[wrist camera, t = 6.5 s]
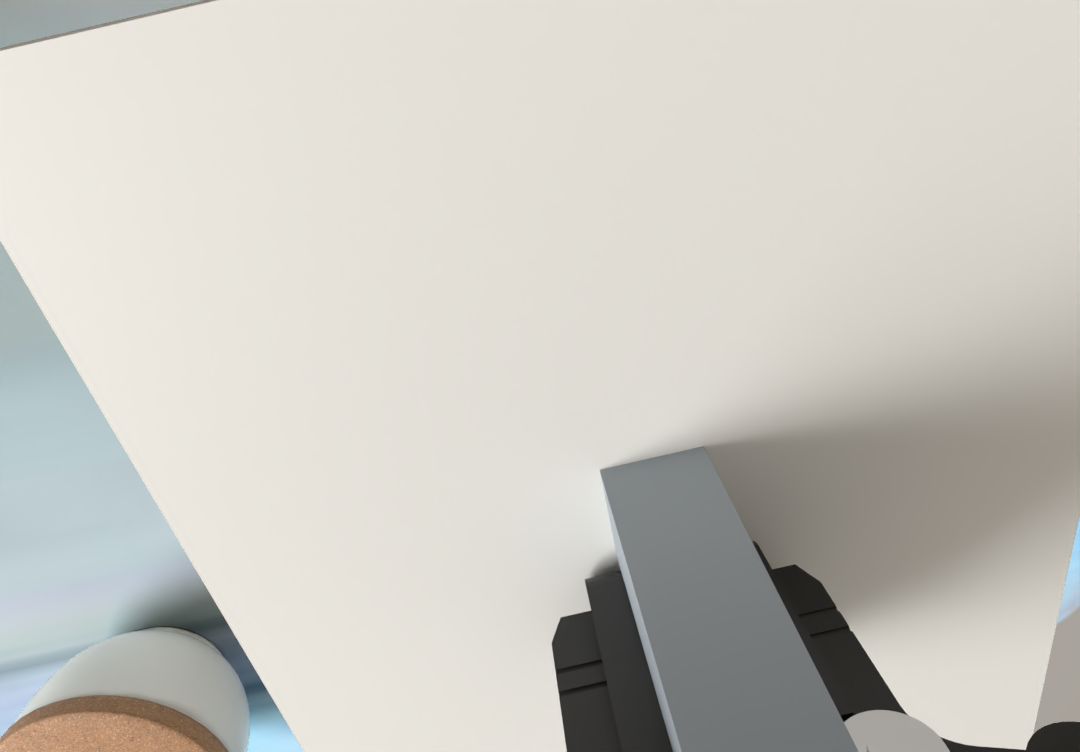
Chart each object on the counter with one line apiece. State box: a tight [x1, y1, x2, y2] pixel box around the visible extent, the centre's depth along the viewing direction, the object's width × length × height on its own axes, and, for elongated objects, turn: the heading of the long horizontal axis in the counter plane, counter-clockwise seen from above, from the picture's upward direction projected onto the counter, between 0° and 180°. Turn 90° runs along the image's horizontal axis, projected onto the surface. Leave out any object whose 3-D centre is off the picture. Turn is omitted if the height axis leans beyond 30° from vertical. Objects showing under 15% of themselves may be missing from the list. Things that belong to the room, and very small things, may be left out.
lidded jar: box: [0, 627, 250, 752], centre depth 37 cm, size 11×11×9 cm
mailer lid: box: [0, 0, 1080, 752], centre depth 12 cm, size 19×14×8 cm
